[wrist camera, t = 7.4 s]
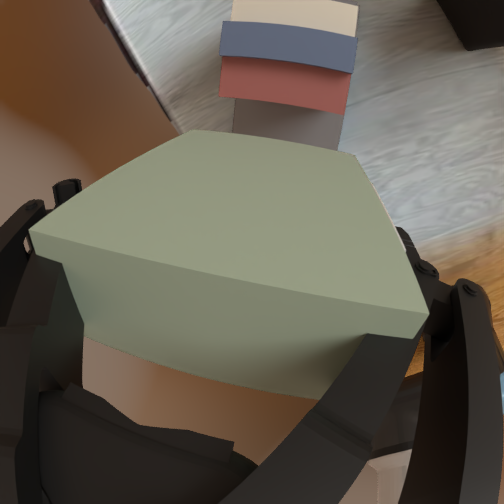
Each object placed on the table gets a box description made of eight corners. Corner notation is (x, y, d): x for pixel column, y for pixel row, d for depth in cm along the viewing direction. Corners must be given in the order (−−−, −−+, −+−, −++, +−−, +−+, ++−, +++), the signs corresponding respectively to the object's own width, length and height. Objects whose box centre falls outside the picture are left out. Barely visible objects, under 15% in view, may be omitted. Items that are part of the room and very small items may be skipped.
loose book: (339, 213, 18) (361, 403, 7) (190, 186, 19) (66, 328, 8) (354, 155, 16) (429, 313, 5) (193, 129, 17) (28, 229, 6)
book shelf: (330, 174, 36) (339, 225, 24) (232, 157, 37) (192, 197, 25) (357, 8, 23) (384, -33, 11) (251, -7, 24) (215, -51, 12)
